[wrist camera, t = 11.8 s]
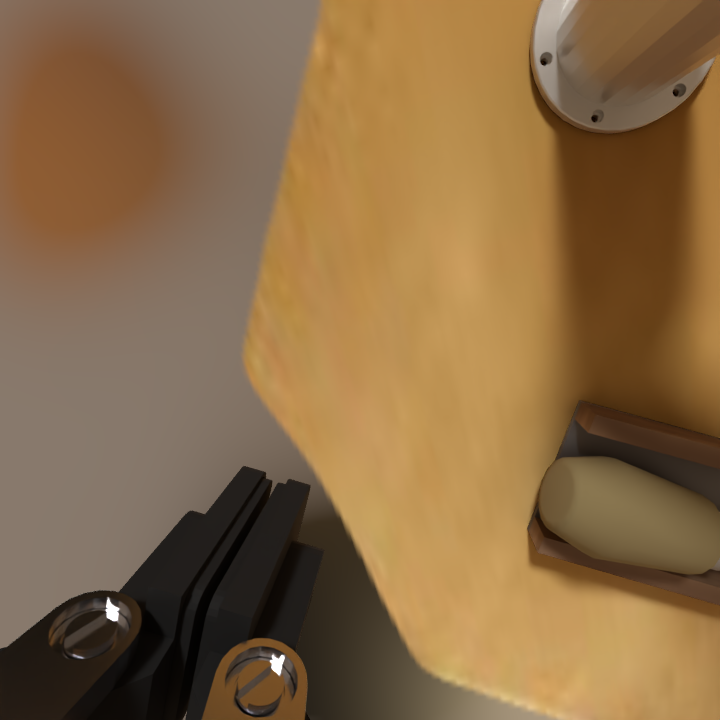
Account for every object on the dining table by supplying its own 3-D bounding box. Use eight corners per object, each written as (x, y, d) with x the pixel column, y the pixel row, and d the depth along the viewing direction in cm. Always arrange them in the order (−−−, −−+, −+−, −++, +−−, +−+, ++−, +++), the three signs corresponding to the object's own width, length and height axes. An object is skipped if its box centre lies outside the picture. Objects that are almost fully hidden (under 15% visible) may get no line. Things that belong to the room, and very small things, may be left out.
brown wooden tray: (579, 400, 38) (595, 414, 35) (837, 470, 37) (880, 492, 34) (527, 528, 41) (537, 552, 38) (762, 595, 40) (794, 626, 37)
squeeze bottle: (526, 469, 41) (702, 521, 42) (532, 558, 36) (734, 616, 37) (579, 425, 35) (783, 487, 36) (596, 525, 30) (835, 595, 31)
